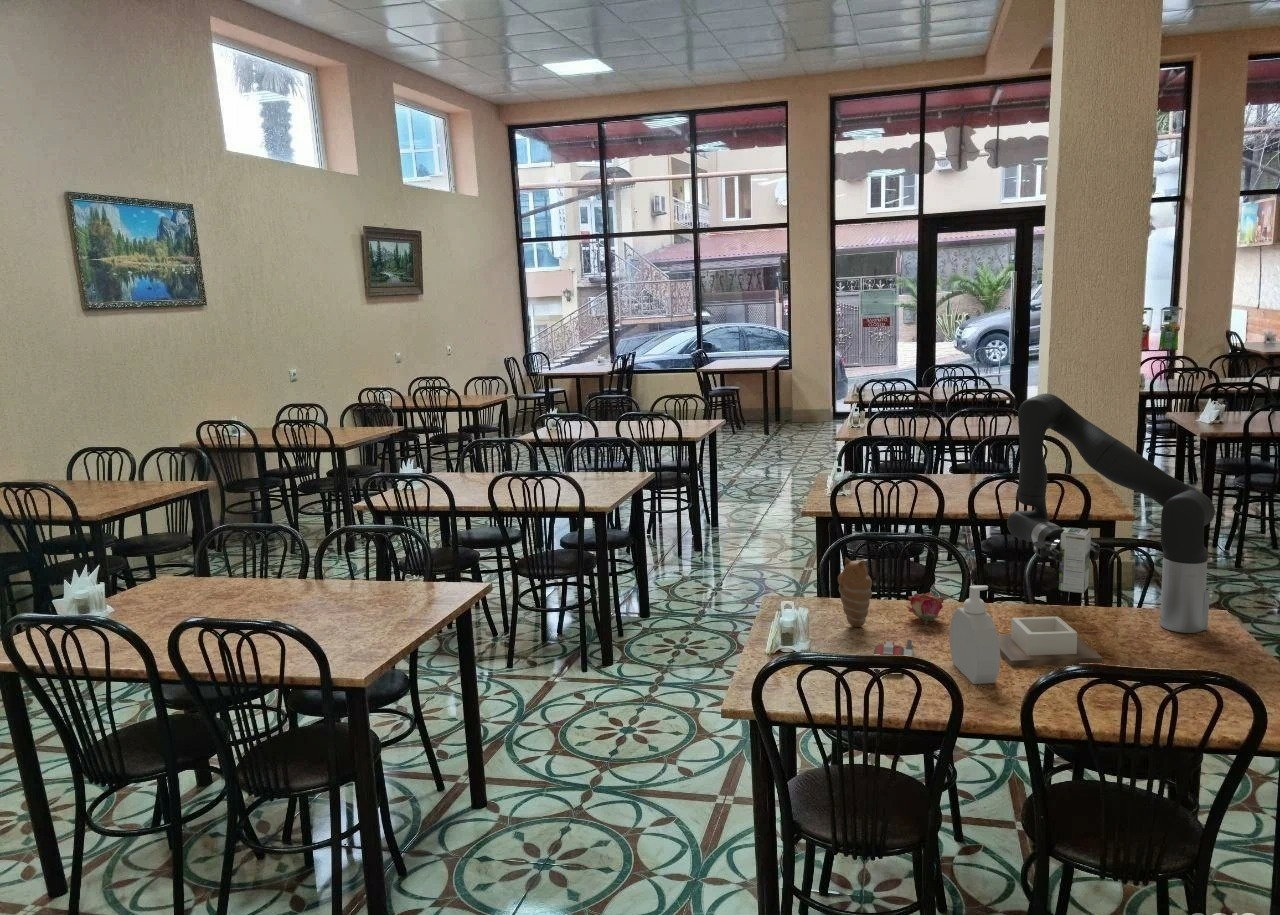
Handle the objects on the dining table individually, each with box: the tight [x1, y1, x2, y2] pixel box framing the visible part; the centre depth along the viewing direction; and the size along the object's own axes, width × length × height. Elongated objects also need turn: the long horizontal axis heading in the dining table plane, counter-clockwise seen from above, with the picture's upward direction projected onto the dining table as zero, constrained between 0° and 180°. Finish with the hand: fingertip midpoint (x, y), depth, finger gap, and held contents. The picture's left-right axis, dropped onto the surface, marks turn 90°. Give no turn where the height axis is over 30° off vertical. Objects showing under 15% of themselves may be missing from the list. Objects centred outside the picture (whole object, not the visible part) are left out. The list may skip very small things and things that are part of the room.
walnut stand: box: [997, 633, 1103, 668], centre depth 216 cm, size 20×16×2 cm
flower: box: [906, 591, 944, 626], centre depth 239 cm, size 10×9×8 cm
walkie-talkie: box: [873, 639, 914, 676], centre depth 216 cm, size 9×4×20 cm
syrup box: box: [1058, 527, 1092, 594], centre depth 226 cm, size 6×6×14 cm
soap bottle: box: [948, 584, 1001, 685], centre depth 205 cm, size 16×5×20 cm, turn 3°
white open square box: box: [1010, 616, 1078, 655], centre depth 216 cm, size 11×11×5 cm
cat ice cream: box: [837, 557, 873, 628], centre depth 237 cm, size 9×8×18 cm
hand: (1078, 557), depth 224 cm, fingers closed on syrup box, 8 cm apart
